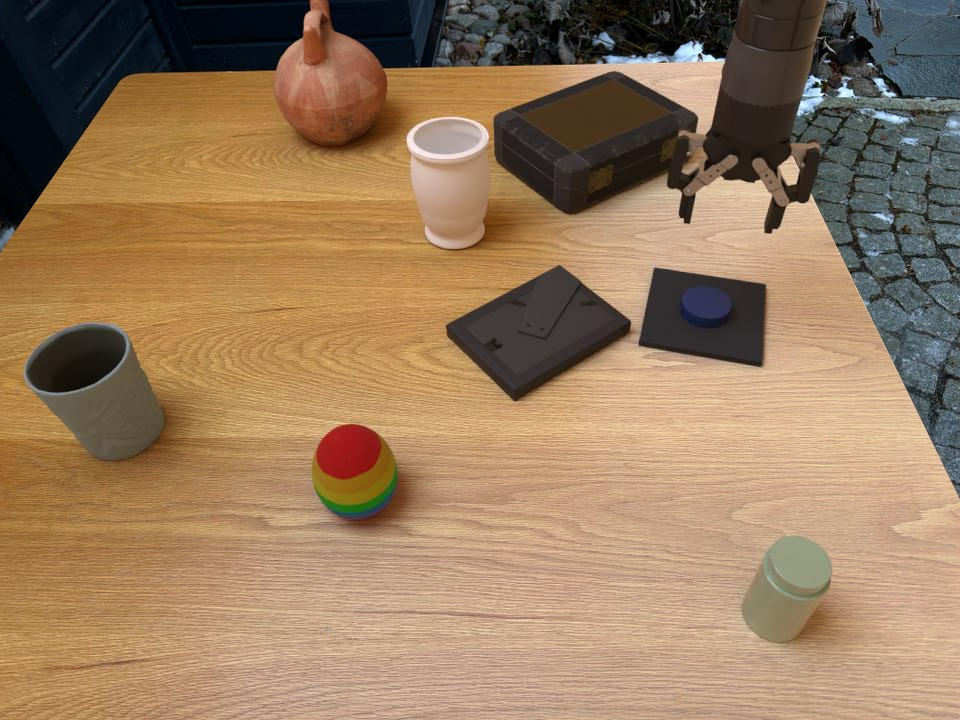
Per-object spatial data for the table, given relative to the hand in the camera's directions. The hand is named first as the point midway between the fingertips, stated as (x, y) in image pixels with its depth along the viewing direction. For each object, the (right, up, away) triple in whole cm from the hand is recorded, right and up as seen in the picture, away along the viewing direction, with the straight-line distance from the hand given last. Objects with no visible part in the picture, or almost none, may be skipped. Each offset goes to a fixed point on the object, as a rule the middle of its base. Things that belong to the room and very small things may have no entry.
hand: (727, 224), depth 82 cm
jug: (-51, +24, +45) cm, 72 cm away
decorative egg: (-39, -29, -6) cm, 49 cm away
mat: (0, -9, +10) cm, 14 cm away
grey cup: (-67, -23, +1) cm, 70 cm away
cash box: (-10, +17, +36) cm, 40 cm away
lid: (0, -8, +9) cm, 12 cm away
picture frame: (-20, -12, +9) cm, 25 cm away
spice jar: (-1, -37, -16) cm, 40 cm away
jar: (-31, +3, +24) cm, 39 cm away
